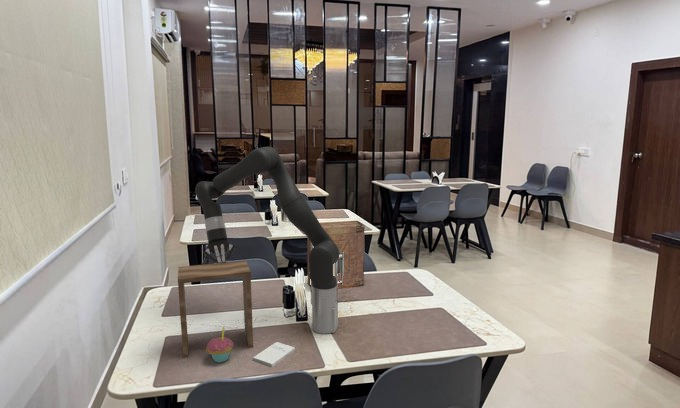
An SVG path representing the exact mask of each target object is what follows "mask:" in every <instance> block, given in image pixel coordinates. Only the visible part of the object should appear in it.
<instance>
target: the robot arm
mask: <svg viewBox="0 0 680 408" xmlns="http://www.w3.org/2000/svg"><path fill="white" fill-rule="evenodd" d="M263 173H268V175H270V177H271V179H272V180H273V182H274V184H275V187H276V190H277V191H276V193H277V200H278V205H279V207H280V208H281V210H282V211H283V213H284V215H285V217H286V218H287V220H288V221H289V223H291V224H292V225H293V226H294V227H295V228H297V229H298V230H300V231H301V232H302V233H303V234H304V235H305V236H306V238H307V239H308V238H309V240H310V241H311V243H312V245H313V246H314V248H312V250H311V251H310V254H309V272H310V279H311V281H312V287H311V327H312V328H311V329H312V331H313V332H314V333H317V334H321V335H322V334H323V335H327V334H331V333H333V334H334V333H336V331H337V330H338V327H339V303H338V301H337V291H338V289H337V280H336V277H335V276H333V264H334V263H336V262H337V261H338V259H339V249H338V247H337V246H336V244H335V243H334V241H333V240H332V239H331V238H330V236H329V235H328V234H327V233H326V231H325V230H324V229H323V227H322V226H321V224H320V222H319V220H318V218H317V216H316V215H315V214H314V212H313V210H312V209H311V207H310V205H309V203H308V201H307V200H306V198H305V197H304V196H303V193H301V191H300V189H299V188H298V187H297V185H296V183H295V182H294V179H292V176H291V175H290V173H289V171H288V170H287V167H286V165H285V162H284V161H283V159H282V157H281V155H280V154H279V152H278V150H276V148H274V147H272V146H263V147H257V148H255V149H252V150H251V152H250V153H248V154H247V155H246V156H245V157H243V158H242V159H241V160H240V161H239V162H238V163H236V164H235V165H233V166H231V167H230V168H227V169H225V170H224V171H222V172H221V173H219V174H218V175H216V176H214V177H213V179H212V181H205V180H203V181H202V180H201V181H199V182H198V183H197V184H196V186H195V189H194V190H195V196H196V198H197V200H198V202H199V205H200V207H201V209H202V212H203V217H204V226H205V227H204V228H205V232H206V233H205V234H206V237H207V238H206V239H207V243H208V244H207V248H206V250H205V251H203V255H204V256H206V257H207V258H208V259H209V260H210V261H212V262H213V264H214V263H225V262H228V261H229V260H230V259H231V257H232V255H233V253H234V251H235V249H236V246H235V245H233V244H231V243H230V241H229V240H228V235H227V234H228V233H227V230H226V224H225V220H224V217H223V212H222V207H221V205H220V204H219V203H217V202H215V201H213V200H216V199H219V198H221V197H222V196H223V195H224V194H225V193H226V192H227V191H228V190H230V189H232V188H235V186H238V185H239V184H240V183H242V181H243V180H244V179H246V178H248V177H250V176H254V175H257V174H263ZM228 250H229V252H228V254H227V255H225V253H226V252H227V251H228ZM211 253H212V254H213V255H215V256H216V258H215V257H213V256H212V254H211ZM220 255H221V256H220Z"/></svg>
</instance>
